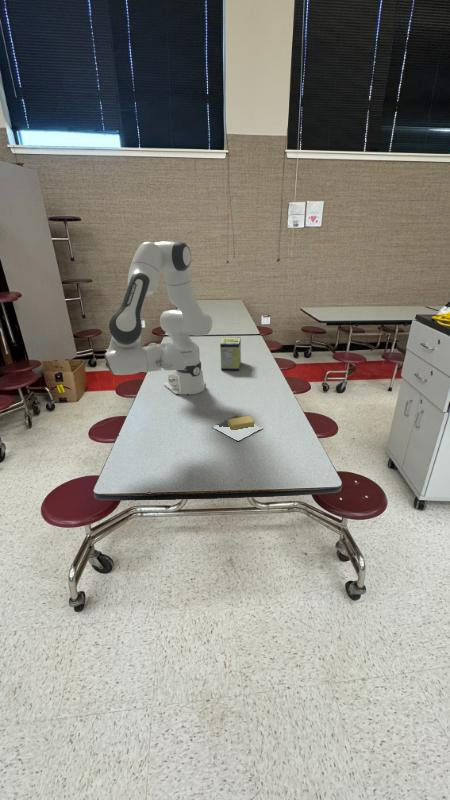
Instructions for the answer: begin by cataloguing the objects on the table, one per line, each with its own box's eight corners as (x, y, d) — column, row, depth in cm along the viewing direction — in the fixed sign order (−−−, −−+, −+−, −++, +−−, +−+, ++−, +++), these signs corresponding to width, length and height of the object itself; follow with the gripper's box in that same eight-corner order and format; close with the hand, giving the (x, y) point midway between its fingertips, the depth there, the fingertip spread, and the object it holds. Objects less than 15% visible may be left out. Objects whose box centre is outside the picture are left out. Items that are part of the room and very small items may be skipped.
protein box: (240, 362, 214) (240, 336, 208) (239, 371, 200) (239, 344, 194) (223, 361, 215) (222, 336, 209) (220, 371, 201) (220, 344, 195)
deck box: (231, 425, 140) (254, 421, 142) (227, 419, 144) (249, 415, 147) (231, 430, 141) (254, 426, 143) (227, 424, 145) (249, 420, 148)
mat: (211, 427, 144) (211, 427, 144) (236, 416, 152) (236, 415, 152) (238, 442, 134) (238, 441, 134) (263, 428, 142) (263, 427, 142)
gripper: (157, 358, 115) (199, 353, 118) (149, 342, 132) (186, 338, 136) (159, 377, 117) (200, 371, 121) (151, 358, 135) (187, 353, 139)
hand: (192, 353), depth 129 cm, fingers closed
